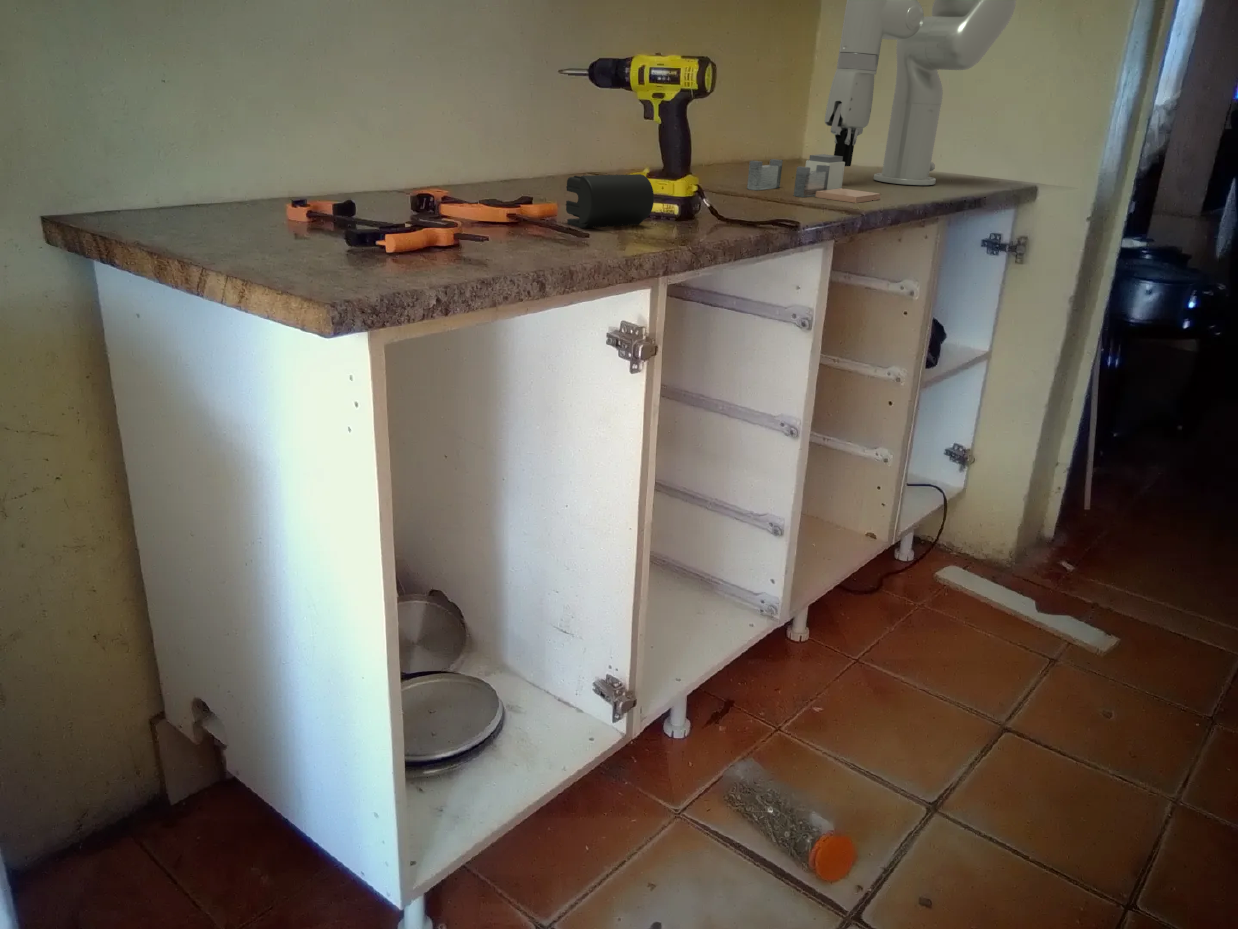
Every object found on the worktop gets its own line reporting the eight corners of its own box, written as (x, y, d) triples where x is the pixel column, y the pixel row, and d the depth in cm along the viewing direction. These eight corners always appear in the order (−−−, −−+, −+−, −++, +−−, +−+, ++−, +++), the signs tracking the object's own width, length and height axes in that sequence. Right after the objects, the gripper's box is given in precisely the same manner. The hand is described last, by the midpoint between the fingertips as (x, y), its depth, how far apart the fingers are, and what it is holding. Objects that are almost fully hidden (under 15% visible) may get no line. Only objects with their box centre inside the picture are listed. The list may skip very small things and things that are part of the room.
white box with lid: (818, 185, 186) (822, 153, 184) (841, 188, 183) (845, 156, 181) (802, 187, 182) (806, 154, 180) (825, 190, 179) (830, 157, 177)
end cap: (591, 232, 123) (593, 178, 120) (562, 223, 128) (564, 171, 125) (653, 228, 128) (656, 176, 126) (623, 220, 133) (625, 170, 131)
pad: (840, 193, 175) (841, 188, 174) (879, 199, 170) (880, 193, 170) (815, 196, 168) (816, 191, 168) (855, 202, 164) (856, 196, 163)
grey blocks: (770, 186, 180) (773, 158, 178) (826, 194, 173) (829, 165, 171) (746, 188, 174) (749, 160, 172) (803, 197, 167) (806, 167, 165)
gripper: (858, 66, 187) (843, 163, 194) (820, 61, 176) (805, 163, 183) (893, 68, 182) (876, 167, 189) (856, 63, 172) (839, 168, 179)
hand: (841, 165), depth 186 cm, fingers closed
